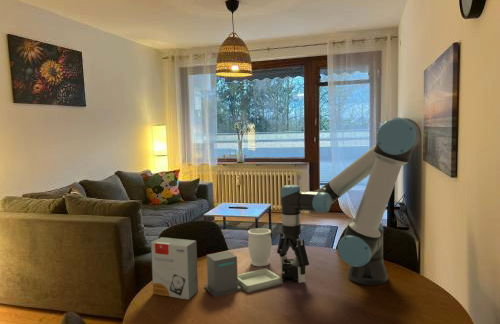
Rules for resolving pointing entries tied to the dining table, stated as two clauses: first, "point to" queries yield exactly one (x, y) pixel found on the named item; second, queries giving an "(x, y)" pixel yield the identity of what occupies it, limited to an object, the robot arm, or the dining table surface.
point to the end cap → (290, 270)
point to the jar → (259, 246)
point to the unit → (222, 273)
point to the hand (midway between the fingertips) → (292, 276)
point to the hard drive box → (174, 267)
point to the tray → (258, 280)
